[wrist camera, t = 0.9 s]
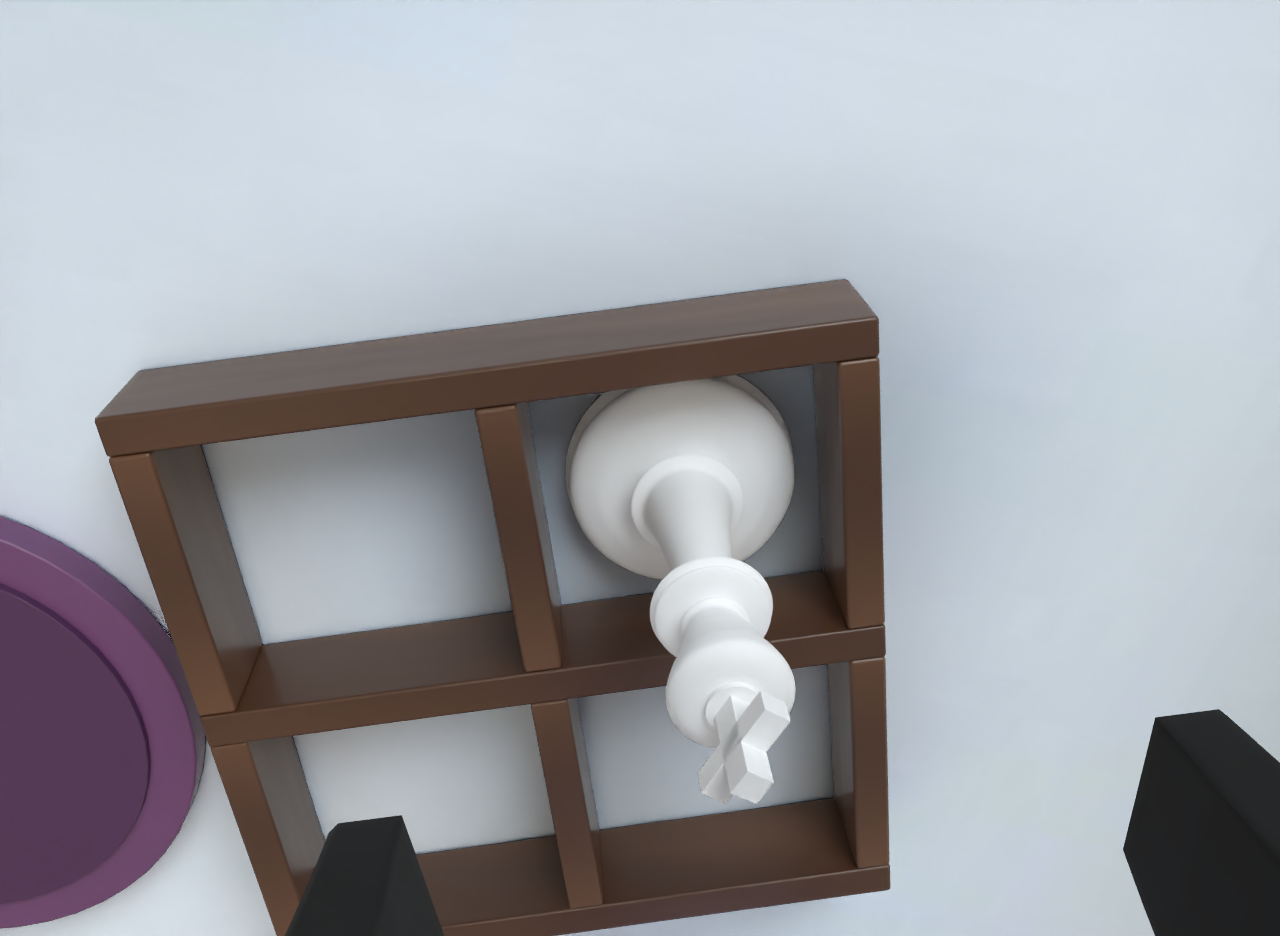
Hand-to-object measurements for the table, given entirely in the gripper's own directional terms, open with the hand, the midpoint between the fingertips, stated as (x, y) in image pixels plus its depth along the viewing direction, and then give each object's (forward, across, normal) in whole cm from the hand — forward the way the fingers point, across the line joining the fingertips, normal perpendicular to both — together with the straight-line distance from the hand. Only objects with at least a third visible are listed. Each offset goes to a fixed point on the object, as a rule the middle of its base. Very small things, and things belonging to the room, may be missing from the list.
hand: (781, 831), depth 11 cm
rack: (+12, +3, +8) cm, 15 cm away
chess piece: (+13, 0, +5) cm, 14 cm away
